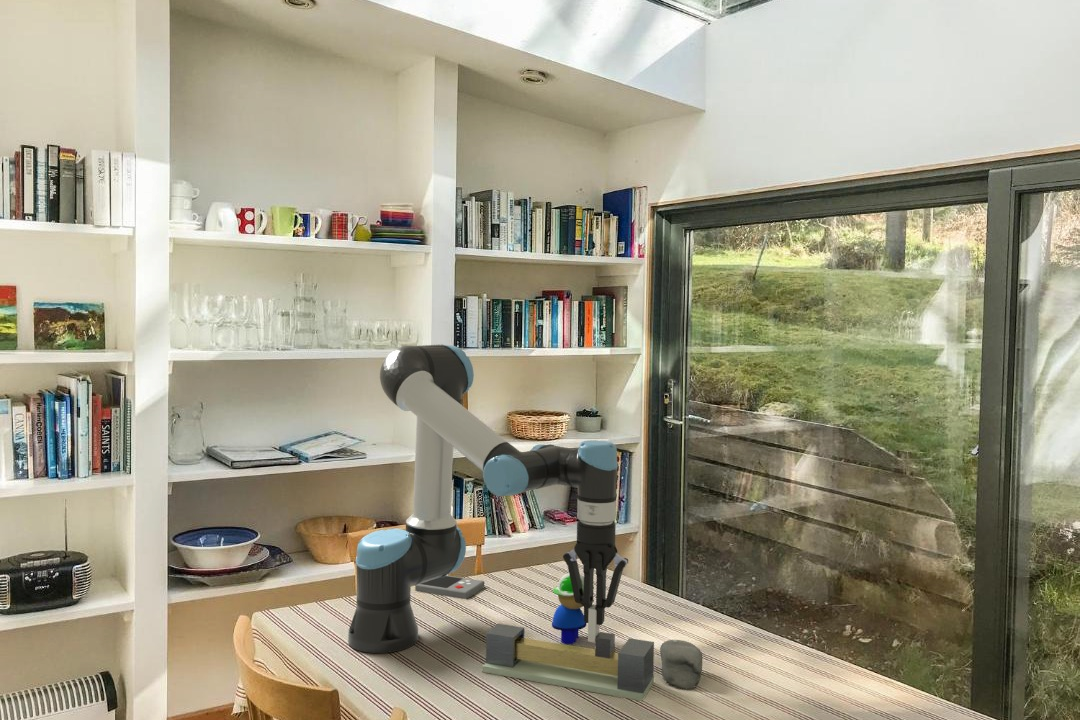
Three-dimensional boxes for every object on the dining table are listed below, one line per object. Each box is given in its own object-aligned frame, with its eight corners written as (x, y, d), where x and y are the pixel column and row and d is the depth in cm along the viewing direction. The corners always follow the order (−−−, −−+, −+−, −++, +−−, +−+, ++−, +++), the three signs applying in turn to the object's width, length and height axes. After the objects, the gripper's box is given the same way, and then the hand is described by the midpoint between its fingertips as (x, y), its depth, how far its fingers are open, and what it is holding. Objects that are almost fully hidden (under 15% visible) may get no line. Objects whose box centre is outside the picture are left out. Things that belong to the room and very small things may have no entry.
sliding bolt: (502, 656, 173) (503, 623, 172) (509, 650, 176) (509, 617, 175) (637, 679, 163) (638, 644, 162) (641, 673, 166) (642, 638, 165)
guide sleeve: (485, 663, 173) (486, 633, 172) (497, 652, 178) (497, 623, 178) (512, 667, 171) (513, 637, 170) (524, 657, 176) (524, 627, 176)
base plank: (482, 671, 171) (482, 666, 171) (500, 655, 180) (500, 649, 180) (642, 700, 159) (642, 694, 159) (653, 681, 168) (653, 675, 168)
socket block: (617, 689, 162) (618, 652, 161) (628, 672, 169) (629, 638, 169) (643, 693, 160) (643, 657, 159) (653, 676, 167) (654, 641, 167)
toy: (590, 648, 184) (591, 580, 183) (548, 644, 186) (549, 577, 185) (595, 633, 193) (596, 568, 192) (555, 630, 195) (556, 565, 194)
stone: (652, 685, 166) (658, 632, 170) (658, 689, 174) (663, 638, 178) (699, 692, 163) (703, 638, 167) (703, 696, 171) (707, 644, 175)
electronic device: (466, 591, 215) (414, 583, 221) (466, 601, 215) (414, 593, 221) (484, 580, 225) (435, 572, 230) (484, 589, 225) (435, 581, 231)
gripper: (558, 521, 165) (555, 641, 166) (623, 529, 160) (620, 651, 161) (571, 513, 172) (568, 628, 173) (633, 520, 167) (630, 638, 168)
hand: (593, 639), depth 167 cm, fingers closed
